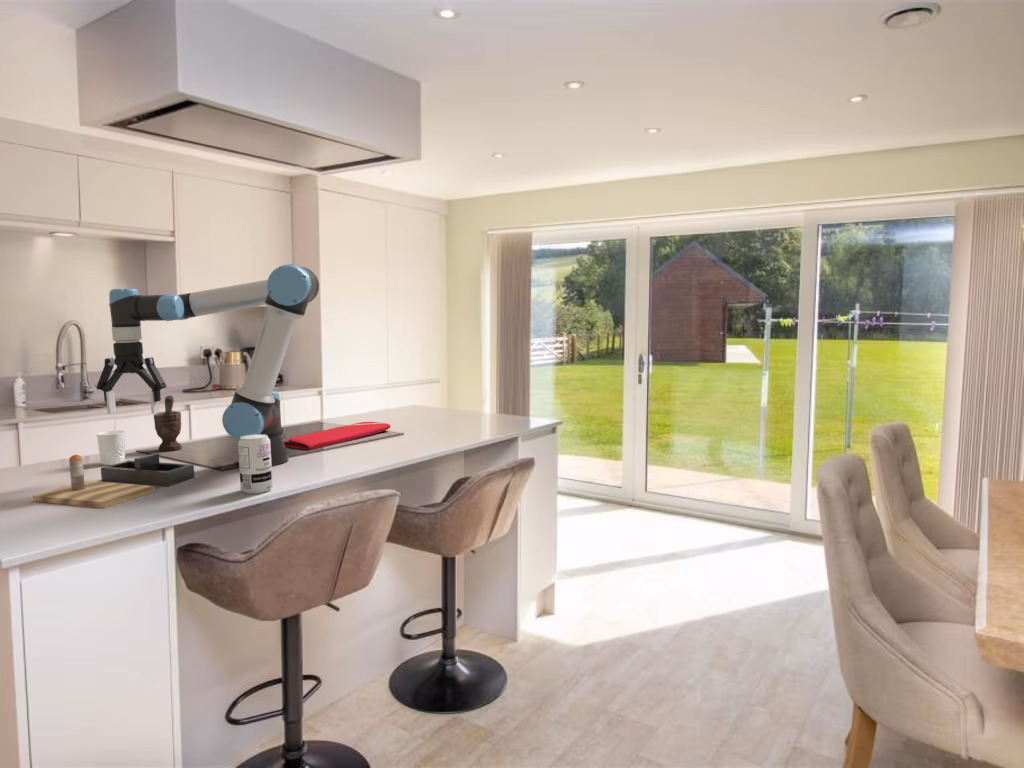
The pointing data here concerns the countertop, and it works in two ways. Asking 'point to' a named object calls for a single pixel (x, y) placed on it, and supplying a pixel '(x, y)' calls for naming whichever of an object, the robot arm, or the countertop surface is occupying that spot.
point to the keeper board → (91, 490)
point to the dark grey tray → (147, 472)
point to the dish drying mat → (335, 435)
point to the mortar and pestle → (168, 426)
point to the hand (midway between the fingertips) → (133, 412)
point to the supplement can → (255, 463)
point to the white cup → (111, 447)
